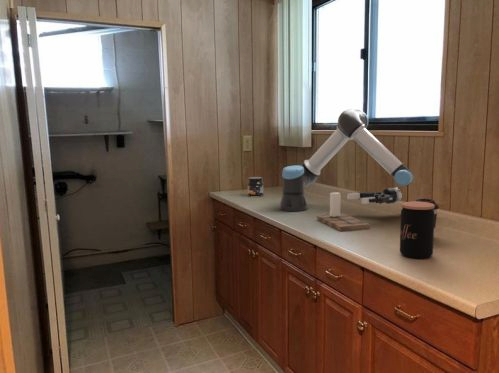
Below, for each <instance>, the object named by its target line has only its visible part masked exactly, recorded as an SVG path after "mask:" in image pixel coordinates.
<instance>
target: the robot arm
mask: <svg viewBox="0 0 499 373" xmlns="http://www.w3.org/2000/svg"><path fill="white" fill-rule="evenodd" d="M368 126H369V118H368V115H367V113H365V112H364V111H362V110H360V109H346V110H344V111H342V112H341V113H340V115H339V116H338V119H337V125H336V129H335V131H333V133H332V134H331V135H330V137H328V139H326V140H325V142H324V143H323V144H322V145H321V146H320V147H319V148H318V149H317V151H315V153H314V154H313V155H311V157H310V158H309V159H304V161H302V163H301V164H300V165H290V166H288V165H287V166H286V167H283V169H282V174H281V176H282V196H281V200H280V203H279V210H281V211H284V212H302V211H306V210H308V204H307V200H306V197H305V187H310V186H311V185H314V183H315V182H317V180H318V177H319V176H320V175H321V170H322V169H323V168H324V167H325V166H326V165H327V164H328V163H329V161H330V160H331V159H333V158H334V156H335V155H337V153H338V152H339V151H340V150H341V149H342V147H344V145H346V143H347V142H348V141H353V140H354V141H355V142H356V143H357V144H358V145H359V146H360V147H361V148H363V149H364V150H365V152H367V154H369V155H370V156H371V158H373V160H375V161H376V162H377V164H379V165H380V166H381V167H382V168H383V169H384V170H385V171H386V172H387V173H388V174H389V175H390V176H391V177H392V178H393V180H394V183H395V184H396V185H398V186H400V187H402V186H407V185H409V184H411V182H412V181H413V179H414V175H413V173H412V171H411V170H410V169H408V168H407V167H406V166H405V165H403V164H404V163H403V162H402V161H401V160H399V159H398V158H397V157H396V155H394V154H393V153H392V151H390V150H389V149H388V148H387V147H386V146H385V145H384V144H383V143H381V142H380V140H378V139H377V137H375V136H374V135H373V133H371V132H370V131H369V130H368V129H367V128H368ZM346 194H347V195H346V196H347V198H346V200H356V199H358V200H361V205H367V204H368V205H369V204H383V203H385V204H388V205H389V204H396V203H395V202H398V201H400V200H401V198H402V193H401V191H400V189H398V187H388V188H385V189H383V191H364V192H363V191H362V192H361V191H357V193H356V192H354V193H346Z"/></svg>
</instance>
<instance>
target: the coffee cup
mask: <svg viewBox="0 0 499 373" xmlns="http://www.w3.org/2000/svg"><path fill="white" fill-rule="evenodd" d="M416 201H419V202H428V203H432V204H434V205H435V207H434V209H433V211H434V231H436V229H435V228H436V226H437V216H438V212H437V211H438V209H439V208H440V206H439V204H438V203H436V201H435V200H434V199H431V198H422V199H417V200H416ZM434 236H435V235H434ZM434 236H433V238H434Z"/></svg>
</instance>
